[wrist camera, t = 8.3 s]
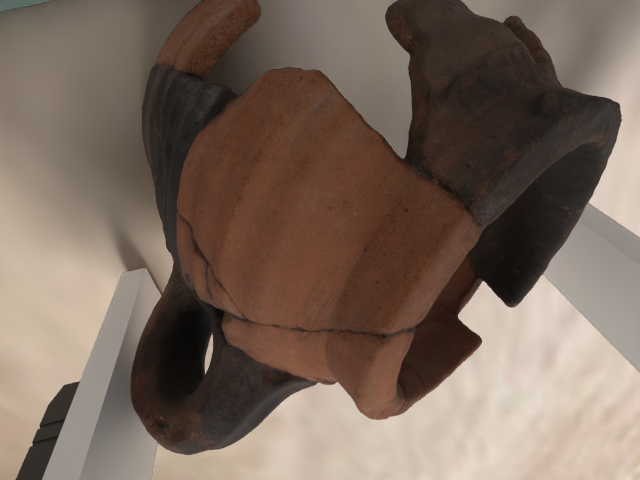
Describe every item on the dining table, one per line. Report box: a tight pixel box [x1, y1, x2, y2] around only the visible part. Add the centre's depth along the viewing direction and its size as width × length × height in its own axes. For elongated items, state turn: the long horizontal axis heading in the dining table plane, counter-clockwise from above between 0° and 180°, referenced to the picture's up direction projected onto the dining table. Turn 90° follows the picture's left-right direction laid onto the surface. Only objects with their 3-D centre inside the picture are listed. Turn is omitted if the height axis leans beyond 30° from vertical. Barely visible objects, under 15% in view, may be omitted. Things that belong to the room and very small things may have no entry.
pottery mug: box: [131, 0, 622, 455], centre depth 10 cm, size 12×10×8 cm
